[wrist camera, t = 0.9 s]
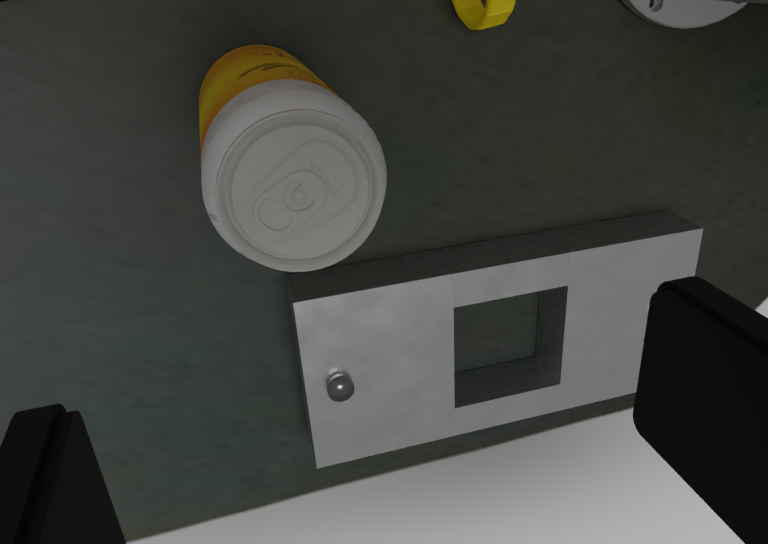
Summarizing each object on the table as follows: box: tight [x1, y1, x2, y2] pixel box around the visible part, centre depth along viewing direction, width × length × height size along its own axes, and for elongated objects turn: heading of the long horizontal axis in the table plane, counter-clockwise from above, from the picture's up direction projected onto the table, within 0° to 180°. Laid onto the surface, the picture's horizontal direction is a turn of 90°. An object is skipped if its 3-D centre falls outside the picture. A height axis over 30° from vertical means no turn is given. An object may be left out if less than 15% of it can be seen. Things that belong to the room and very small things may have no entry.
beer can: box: [199, 45, 387, 272], centre depth 26 cm, size 6×6×15 cm
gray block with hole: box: [285, 210, 703, 468], centre depth 41 cm, size 26×12×4 cm, turn 93°
